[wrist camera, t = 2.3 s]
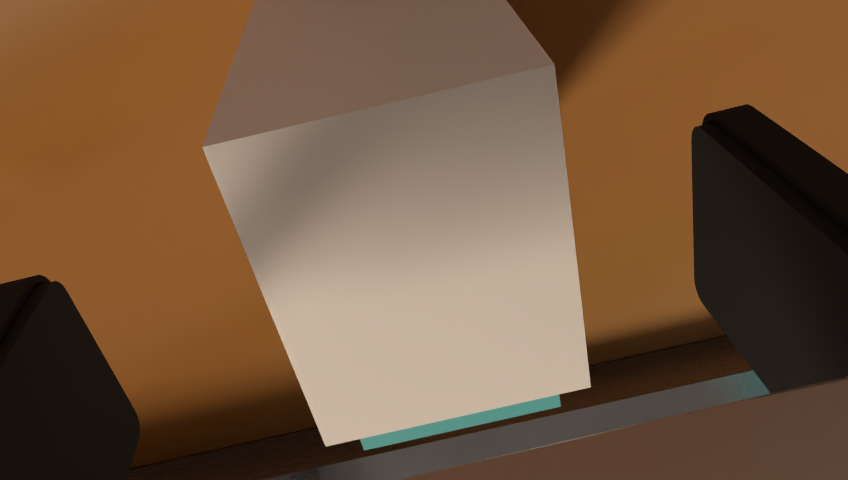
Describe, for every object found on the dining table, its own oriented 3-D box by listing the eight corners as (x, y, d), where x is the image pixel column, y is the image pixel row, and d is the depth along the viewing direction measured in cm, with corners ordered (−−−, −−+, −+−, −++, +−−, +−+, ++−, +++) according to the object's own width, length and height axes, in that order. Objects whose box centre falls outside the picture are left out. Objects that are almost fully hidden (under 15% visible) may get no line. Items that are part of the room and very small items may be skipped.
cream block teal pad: (455, -68, 15) (554, 64, 8) (497, 180, 18) (594, 424, 11) (262, -22, 15) (201, 147, 8) (338, 217, 18) (339, 481, 11)
